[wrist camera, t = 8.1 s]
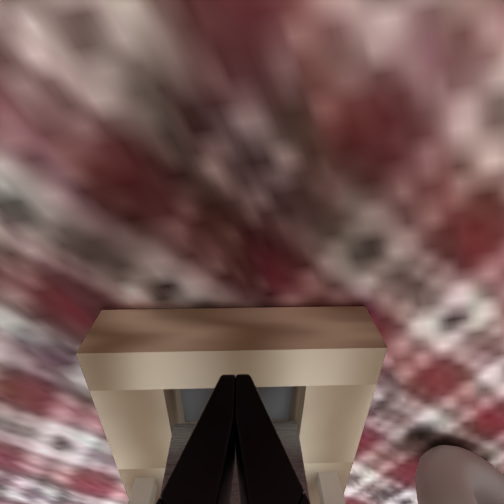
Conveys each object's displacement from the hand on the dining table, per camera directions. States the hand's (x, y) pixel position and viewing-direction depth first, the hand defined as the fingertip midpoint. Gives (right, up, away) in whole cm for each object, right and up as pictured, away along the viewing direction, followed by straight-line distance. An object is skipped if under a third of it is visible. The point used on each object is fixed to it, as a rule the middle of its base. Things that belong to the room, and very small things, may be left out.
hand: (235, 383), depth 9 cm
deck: (-1, -12, +15) cm, 19 cm away
